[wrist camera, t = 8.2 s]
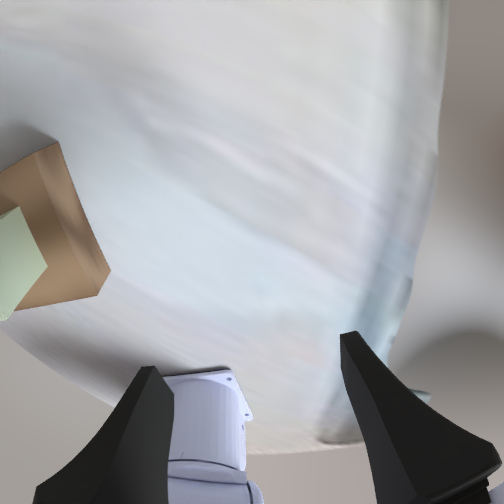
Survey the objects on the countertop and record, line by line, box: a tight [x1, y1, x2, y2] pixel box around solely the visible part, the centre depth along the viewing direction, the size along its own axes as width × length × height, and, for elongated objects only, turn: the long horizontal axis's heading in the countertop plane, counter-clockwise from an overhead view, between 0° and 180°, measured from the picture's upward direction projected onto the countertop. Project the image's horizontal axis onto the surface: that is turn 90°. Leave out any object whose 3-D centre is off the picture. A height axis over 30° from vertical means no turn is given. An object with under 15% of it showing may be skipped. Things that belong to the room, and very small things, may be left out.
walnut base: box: [0, 142, 111, 311], centre depth 18 cm, size 10×10×3 cm
